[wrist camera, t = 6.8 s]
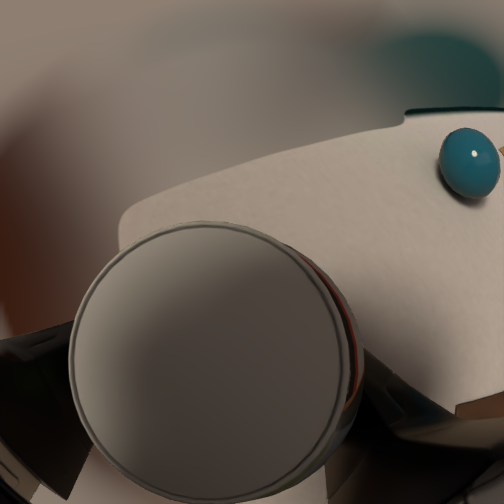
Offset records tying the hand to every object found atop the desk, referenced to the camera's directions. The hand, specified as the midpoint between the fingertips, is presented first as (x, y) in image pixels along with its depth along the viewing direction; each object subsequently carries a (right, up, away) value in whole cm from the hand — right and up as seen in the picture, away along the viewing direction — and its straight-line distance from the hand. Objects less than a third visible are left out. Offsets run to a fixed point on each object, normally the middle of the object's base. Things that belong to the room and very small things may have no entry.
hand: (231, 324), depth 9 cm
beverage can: (+1, -5, +5) cm, 7 cm away
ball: (+25, +10, +16) cm, 31 cm away
